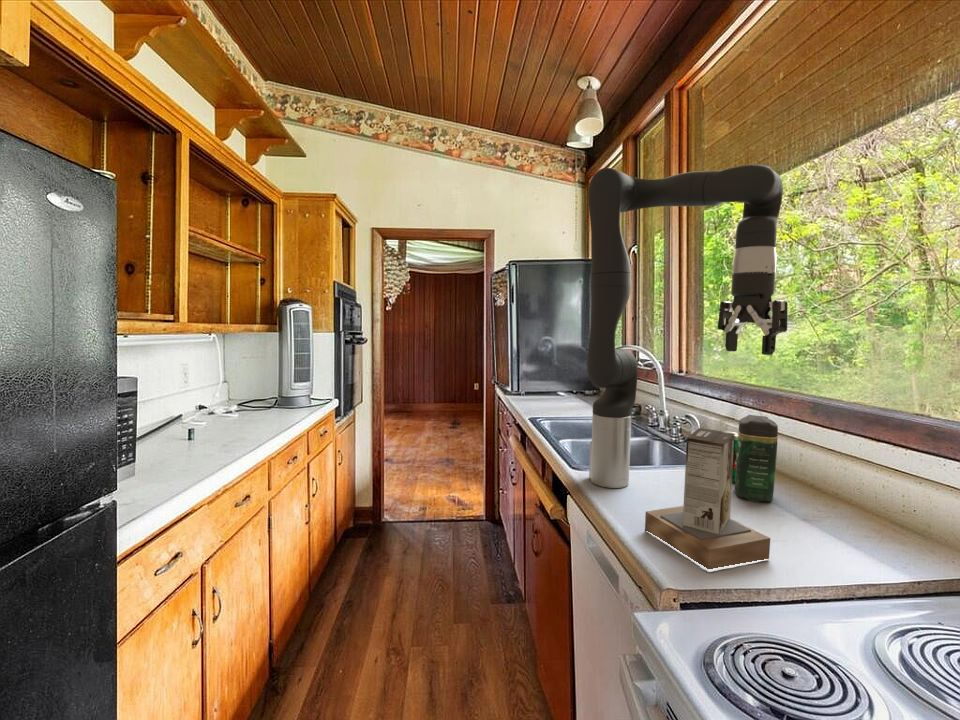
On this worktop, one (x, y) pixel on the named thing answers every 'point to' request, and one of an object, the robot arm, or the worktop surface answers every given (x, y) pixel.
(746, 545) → the block
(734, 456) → the soda can
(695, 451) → the coffee box
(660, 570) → the worktop surface
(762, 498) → the coffee jar
